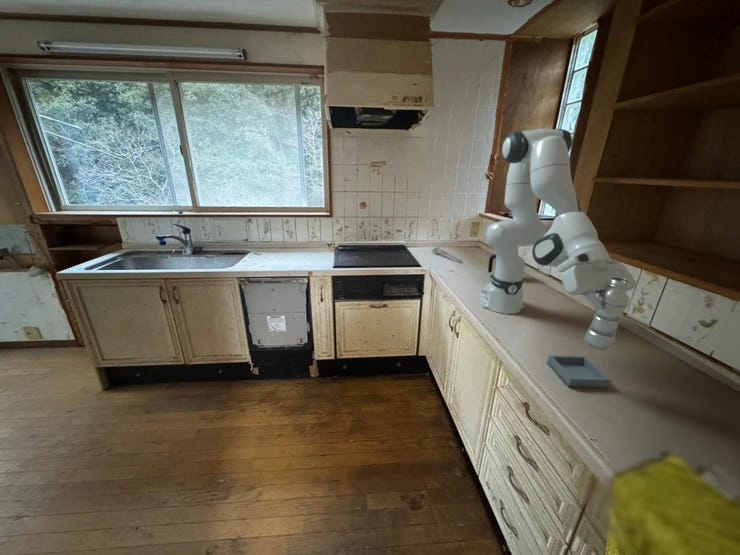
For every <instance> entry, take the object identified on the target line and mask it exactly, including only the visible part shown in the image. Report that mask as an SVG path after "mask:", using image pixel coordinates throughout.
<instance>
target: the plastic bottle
mask: <svg viewBox="0 0 740 555" xmlns="http://www.w3.org/2000/svg"><path fill="white" fill-rule="evenodd" d="M608 285H609V287H607V288H606V289H605V290H603V291H601V292H600V293H598V295H597V298H598V299H599V300H600V301H603V303H604V305H605V308H603V309H598V310H596V309H595V312H594V316H593V319H592V321H591V322H590V325H589V327H588V328H587V329H586V332H585V334H584V340H585V343H586V344H587V345H588V346H589V347H592V348H594V349H596V350H598V351H599V350H600V351H608V350H610V349H612V348H613V347H614V345H615V342H616V334H617V330H618V325H619V323H620V321H621V319H622V316H623V315H624V312H626V309H627V308H628V306H629V304H630V297H629V295H628V293H627V291H625V289H627V285H628V281H627V280H625V279H622V278H616V277H612V278H611V279H610V282H609V283H608Z"/></svg>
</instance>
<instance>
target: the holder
mask: <svg viewBox="0 0 740 555" xmlns="http://www.w3.org/2000/svg"><path fill="white" fill-rule="evenodd" d="M546 364H547V365H548V366H549V368H550V369H551V371H553V372H554V373H555V374H556V376H557V377H558V378H559V379H560V380H561V381H562V382H563V383H564V384H565V386H566V387H567V388H574V389H578V388H580V389H582V388H583V389H608V388H609V386H610V383H611V378H609V377H608V376H607V375H606V374H605V373H604V372H603V371H602V369H600V368H599V367H597V366H596V365H595V364H594V363H593V362H592V361H591V360H590V359H589V358H587V357H586V356H585V355H552V354H551V355H550V354H549V355H548V358H547V361H546Z"/></svg>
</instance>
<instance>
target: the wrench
mask: <svg viewBox="0 0 740 555" xmlns="http://www.w3.org/2000/svg"><path fill="white" fill-rule="evenodd" d="M429 246H432V247H433V249H430V250H431V252H432V253H433V254H434V255H438V254H439V255H442V256H445V258H448V259H450V260H452V261H453V262H456V263H458V264H459V263H461V262H462V259H461V258H460V257H458V256H456V255H454V254H452V253H450V252H448V251H446V250H444V249H442V248H441V247H440V246H439V245H438V244H437V243H436V242H434V241H433V242H431V243H430V245H429Z"/></svg>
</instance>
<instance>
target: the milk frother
mask: <svg viewBox="0 0 740 555" xmlns="http://www.w3.org/2000/svg"><path fill="white" fill-rule="evenodd" d="M495 259H496V254H495V253H493V254H492V255H490V257H489V259H488V270H487V272H488V273H492V272H493V265H494V264H493V263H494V262H493V261H494V260H495ZM493 276H494V275H492V274H491V275H490V276H489V277H490V278H491V279H492V278H493Z"/></svg>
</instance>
